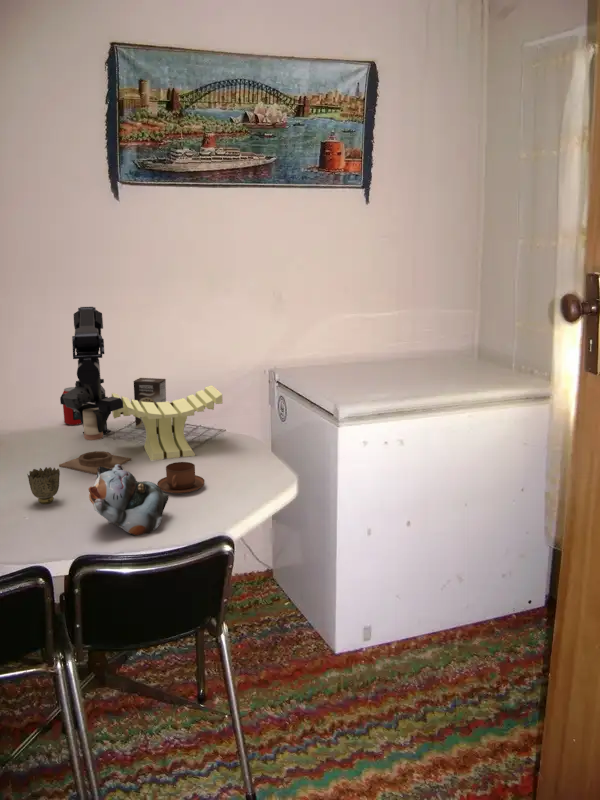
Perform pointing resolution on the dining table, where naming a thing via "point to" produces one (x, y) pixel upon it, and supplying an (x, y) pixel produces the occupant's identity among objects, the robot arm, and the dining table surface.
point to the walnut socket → (94, 462)
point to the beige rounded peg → (91, 425)
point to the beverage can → (70, 412)
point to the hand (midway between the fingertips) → (93, 430)
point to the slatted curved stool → (168, 421)
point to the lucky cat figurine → (127, 500)
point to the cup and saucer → (180, 478)
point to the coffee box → (149, 394)
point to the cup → (44, 484)
